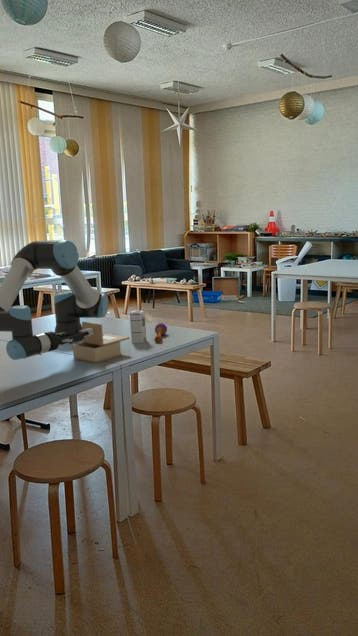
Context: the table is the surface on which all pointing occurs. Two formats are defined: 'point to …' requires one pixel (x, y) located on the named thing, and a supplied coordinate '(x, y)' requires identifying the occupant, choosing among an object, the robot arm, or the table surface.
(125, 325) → the table surface
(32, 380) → the table surface
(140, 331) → the syrup box
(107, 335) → the lid
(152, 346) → the table surface
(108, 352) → the box
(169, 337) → the table surface
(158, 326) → the kendama
